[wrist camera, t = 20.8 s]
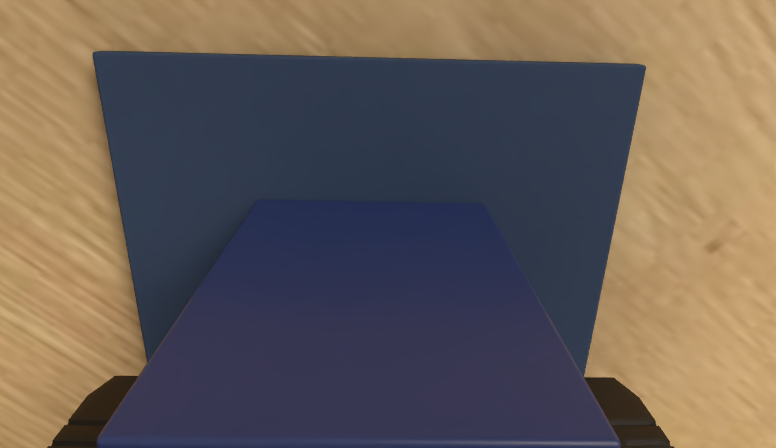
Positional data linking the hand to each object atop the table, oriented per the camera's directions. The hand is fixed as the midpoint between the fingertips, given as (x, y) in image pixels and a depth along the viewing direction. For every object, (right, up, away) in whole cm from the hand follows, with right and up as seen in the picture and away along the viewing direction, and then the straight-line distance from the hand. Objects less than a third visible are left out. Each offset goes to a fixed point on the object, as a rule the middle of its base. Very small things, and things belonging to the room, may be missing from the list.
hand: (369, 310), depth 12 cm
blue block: (0, 0, 0) cm, 0 cm away
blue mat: (0, 0, +1) cm, 1 cm away
